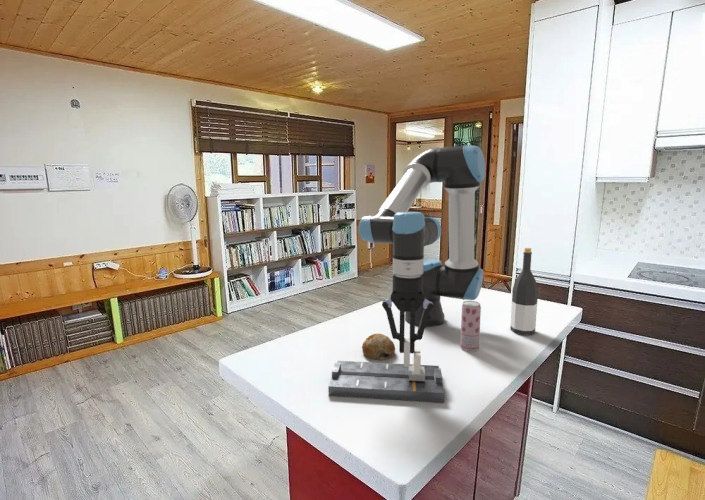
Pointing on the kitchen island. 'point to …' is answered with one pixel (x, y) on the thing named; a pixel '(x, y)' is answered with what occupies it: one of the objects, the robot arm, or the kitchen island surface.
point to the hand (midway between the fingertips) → (406, 364)
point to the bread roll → (378, 347)
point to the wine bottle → (524, 299)
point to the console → (385, 382)
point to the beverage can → (470, 326)
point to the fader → (417, 368)
